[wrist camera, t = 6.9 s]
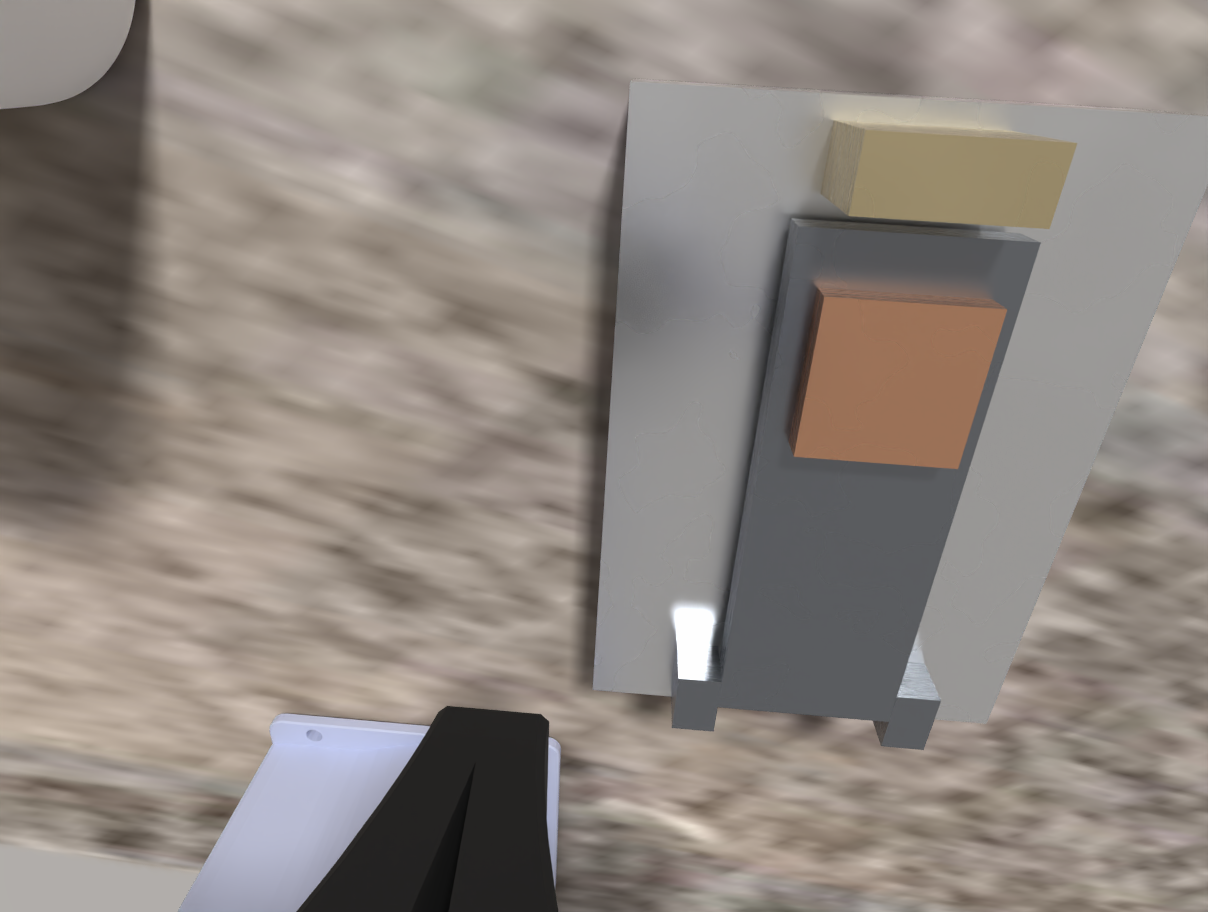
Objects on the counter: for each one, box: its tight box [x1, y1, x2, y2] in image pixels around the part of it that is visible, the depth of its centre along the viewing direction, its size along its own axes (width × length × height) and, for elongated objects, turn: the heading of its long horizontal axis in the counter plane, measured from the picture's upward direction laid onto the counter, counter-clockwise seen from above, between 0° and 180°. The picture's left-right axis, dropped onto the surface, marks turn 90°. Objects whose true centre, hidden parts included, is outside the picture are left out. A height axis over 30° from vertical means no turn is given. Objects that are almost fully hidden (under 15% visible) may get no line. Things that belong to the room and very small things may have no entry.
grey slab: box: [718, 218, 1041, 722], centre depth 15 cm, size 4×11×1 cm, turn 177°
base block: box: [593, 79, 1208, 750], centre depth 16 cm, size 10×14×5 cm
